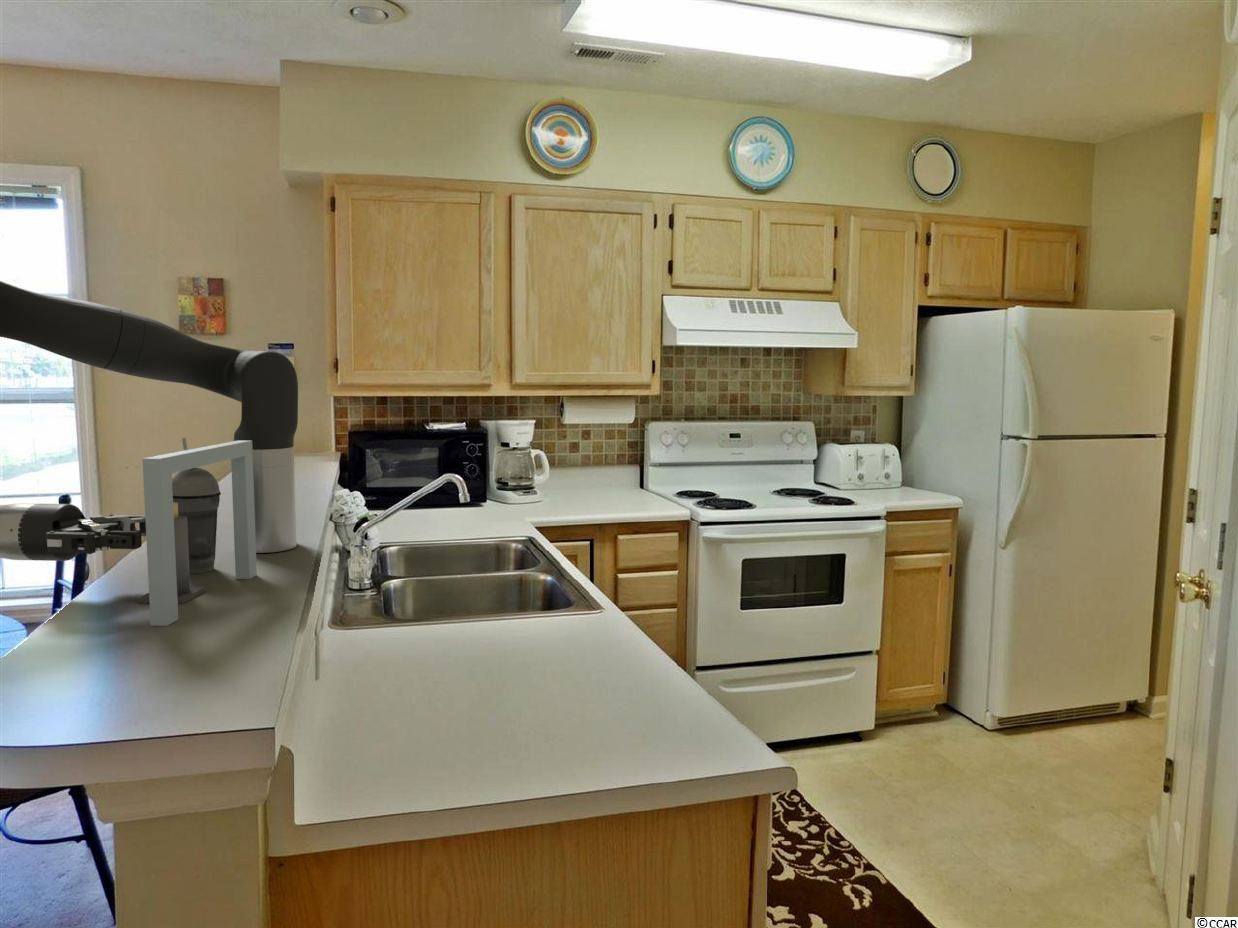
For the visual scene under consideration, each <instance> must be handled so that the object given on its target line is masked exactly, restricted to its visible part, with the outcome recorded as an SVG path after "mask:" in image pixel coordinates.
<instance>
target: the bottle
mask: <svg viewBox="0 0 1238 928" xmlns="http://www.w3.org/2000/svg"><path fill="white" fill-rule="evenodd" d="M173 514H174V536H175V557H176V579H177V596H179V595H183V594H187V593H189V592H190V587H191V583H190V582H191V581H190V578H191V577H190V574H189V550H188V523H187V517H185V516H178V503H176V502H173Z"/></svg>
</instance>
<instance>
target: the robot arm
mask: <svg viewBox="0 0 1238 928" xmlns="http://www.w3.org/2000/svg"><path fill="white" fill-rule="evenodd" d="M0 338H4V339H9V340H14V341H18V342H21V343H25V344H27V345H31V346H34V347H37V348H39V349H42V350H44V351H46V352H50V353H53V354H56V355H58V356H60V357H63V358H67V359H69V360H73V361H75V362H79V363H82V364H85V365H87V366H88V365H89V366H92V367H94V368H98V369H99V368H100V369H103V370H107V371H112V372H115V373H119V374H124V375H127V376H132V377H138V378H144V379H148V380H153V381H154V380H155V381H161V382H168V383H176V384H185V385H189V386H194V387H197V388H200V389H204V390H206V391H210V392H213V393H214V394H218V395H221V396H225V397H227V398H229V399H232V400H235V401H237V402H240V403H241V415H240V416H241V418H240V419H241V420H240V423H239V425H238V427H237V429H235V431H234V434H233V441H238V440H247V441H252V453H253V482H254V510H255V539H256V554H263V553H264V554H265V553H276V552H283V551H288V550H291V549H295V548H296V547H297V517H296V516H297V513H296V511H297V510H296V480H295V479H296V478H295V476H296V475H295V471H296V470H295V449H294V446H295V445H294V444H295V443H294V442H295V441H294V439H295V434H296V431H297V428H298V423H299V422H298V420H299V383H298V381H299V380H298V375H297V371H296V368H295V365H294V364H293V363H292V361H291V360H290V359H289V358H288V357H287V356H285V355H284V354H283V353H279V352H277V351H274V350H273V351H272V350H246V349H237V348H231V347H227V346H224V345H223V346H221V345H217V344H213V343H209V342H205V341H202V340H200V339H197V338H194V337H192V336H190V335H188V334H186V333H184V332H182V331H180V330H178V329H176V328H175V327H172V326H170V325H168V324H165V323H163V322H160V321H158V320H155V319H153V318H150V317H148V316H144V315H141V314H139V313H134V312H131V311H128V310H124V309H121V308H118V307H113V306H109V305H106V304H101V303H96V302H91V301H87V300H81V299H77V298H76V299H75V298H70V297H64V296H63V297H62V296H57V295H51V294H45V293H39V292H36V291H31V290H28V289H25V288H21V287H18V286H16V285H13V284H10V283H7V282H4V281H2V280H0ZM136 523H139V524H138V525H139V528H136ZM142 537H144V538H145V537H146V521H145V514H114V513H111V514H110V513H109V514H108V515H107V514H106V516H105V515H91V516H89V519H88V518H86V516H85V514H84V513H83V512H82V510H81V509H80V508H79V507H77V506H76V505H74V504H71V503H33V502H32V503H26V502H22V503H11V504H0V559H4V560H5V559H6V560H11V561H43V562H45V561H47V562H49V561H51V562H56V561H57V562H67V561H70V560H72V559H74V558H75V557H77V556H78V555H79V554H87V555H93V554H94V553H96V552H98V551H99V552H107V551H108V550H138V549H140V548H141V547H142Z"/></svg>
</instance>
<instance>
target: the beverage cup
mask: <svg viewBox="0 0 1238 928" xmlns="http://www.w3.org/2000/svg"><path fill="white" fill-rule="evenodd" d="M181 442H182V448H183V451H185V450H189V449H188V445H187V437H184V438H181ZM172 492H173V502H176V503H178V516H185V517H187V523H188V550H189V575H192V574H193V575H194V574H195V575H197V574H204V573H208V572H212V571H214V570H215V560H216V551H217V550H216V549H217V548H216V547H217V528H218V510H219V509H218V508H219V506H220V500H221V499H220V496H221V494H222V493H221V491H220V486H219V483H218V480H217V479H216V478H215V476H214V475H213V474H212V473H211V472H210V471H208V470H206V469H204V468H201V467H196V468H192V469H187V470H183V471H179V472H176V474H175V475H174V476H172Z"/></svg>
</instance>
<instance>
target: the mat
mask: <svg viewBox="0 0 1238 928" xmlns="http://www.w3.org/2000/svg"><path fill="white" fill-rule="evenodd" d="M203 593H206V586H190V592H189V593H187V594H183V595H179V596H177V601H178V604H185V603H187V602H189V601H190V600H192V599H194V598H196V597H198V596H200V595H201V594H203ZM137 603H138V604H150V601H149V592H147V593H144V594H142V595H140V596H139V597H137V598H136V604H137Z"/></svg>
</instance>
